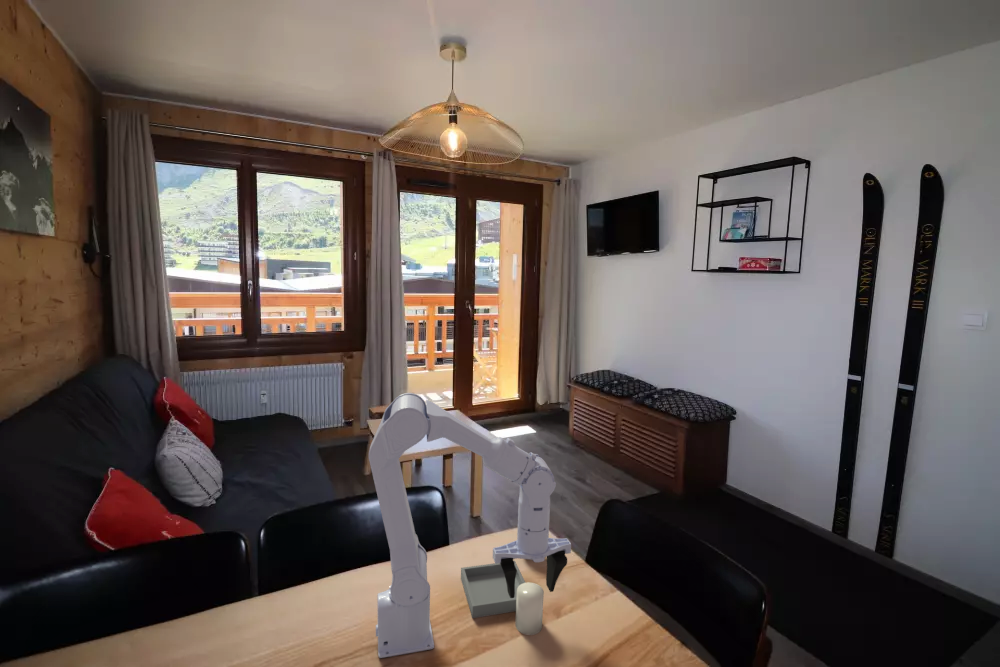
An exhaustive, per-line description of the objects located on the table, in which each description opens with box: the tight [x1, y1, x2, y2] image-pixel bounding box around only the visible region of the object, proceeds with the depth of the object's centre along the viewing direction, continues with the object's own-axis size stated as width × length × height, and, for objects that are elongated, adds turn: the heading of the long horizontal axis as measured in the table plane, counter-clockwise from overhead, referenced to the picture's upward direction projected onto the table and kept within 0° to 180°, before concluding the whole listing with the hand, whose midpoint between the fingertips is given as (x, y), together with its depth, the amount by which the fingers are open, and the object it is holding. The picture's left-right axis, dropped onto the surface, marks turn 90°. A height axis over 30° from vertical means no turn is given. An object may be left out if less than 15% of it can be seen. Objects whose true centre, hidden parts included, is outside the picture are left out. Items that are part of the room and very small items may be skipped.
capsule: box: [514, 581, 545, 636], centre depth 91 cm, size 5×5×7 cm
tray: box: [460, 560, 526, 619], centre depth 100 cm, size 12×12×2 cm
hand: (530, 591), depth 91 cm, fingers open, 7 cm apart
